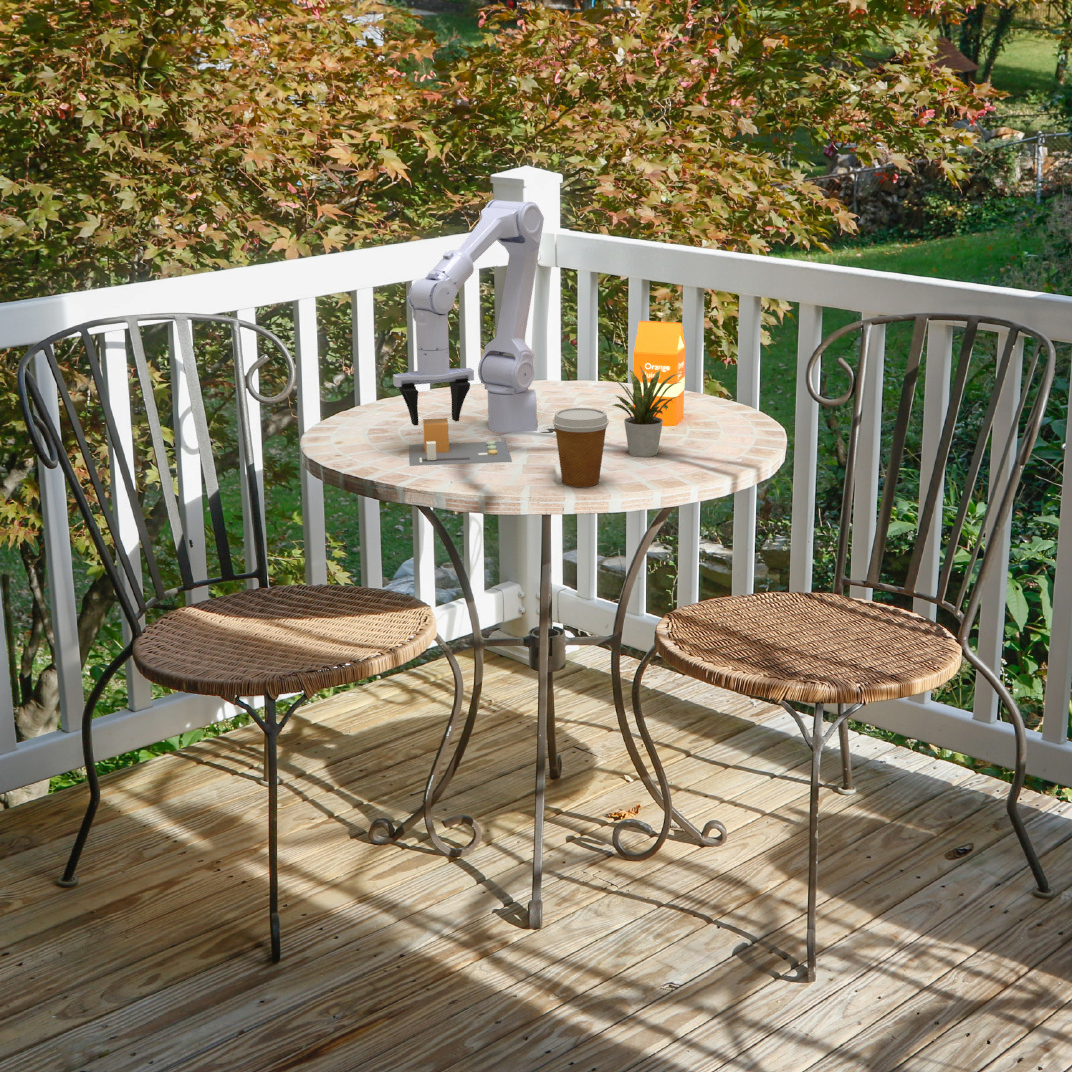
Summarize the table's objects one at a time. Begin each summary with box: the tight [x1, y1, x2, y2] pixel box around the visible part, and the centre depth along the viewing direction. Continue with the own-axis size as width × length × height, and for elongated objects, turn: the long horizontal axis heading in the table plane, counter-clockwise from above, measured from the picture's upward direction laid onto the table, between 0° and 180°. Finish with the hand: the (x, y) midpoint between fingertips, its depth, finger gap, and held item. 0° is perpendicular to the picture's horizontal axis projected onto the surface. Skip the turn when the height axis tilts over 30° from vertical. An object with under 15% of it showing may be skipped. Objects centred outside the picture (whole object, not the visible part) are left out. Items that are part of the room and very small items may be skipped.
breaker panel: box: [408, 440, 513, 467], centre depth 236 cm, size 18×14×2 cm
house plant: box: [606, 365, 683, 458], centre depth 237 cm, size 14×14×16 cm
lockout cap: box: [422, 417, 450, 453], centre depth 238 cm, size 4×4×5 cm
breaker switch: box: [426, 441, 436, 460], centre depth 231 cm, size 2×2×3 cm
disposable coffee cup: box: [552, 407, 610, 488], centre depth 221 cm, size 10×10×12 cm
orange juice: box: [632, 320, 686, 427], centre depth 260 cm, size 8×9×20 cm
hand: (435, 422), depth 237 cm, fingers open, 7 cm apart
